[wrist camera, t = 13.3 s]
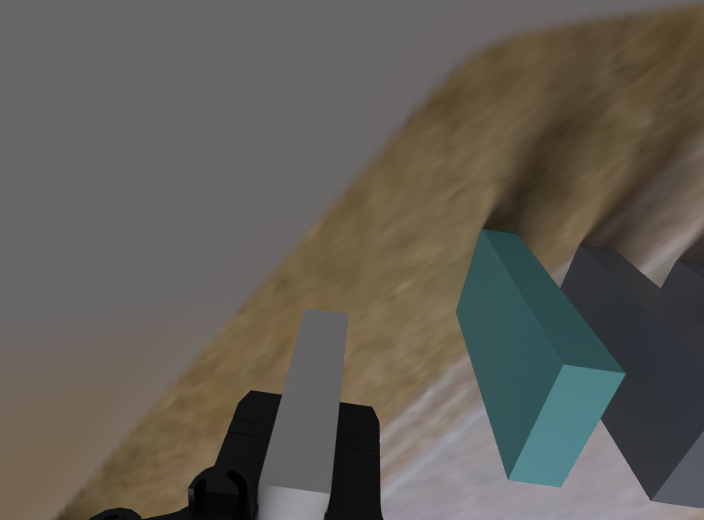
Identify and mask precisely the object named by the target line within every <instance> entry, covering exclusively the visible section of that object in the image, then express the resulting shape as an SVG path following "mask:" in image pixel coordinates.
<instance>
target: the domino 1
mask: <svg viewBox="0 0 704 520" xmlns="http://www.w3.org/2000/svg"><path fill="white" fill-rule="evenodd" d="M456 314H457V317H458V321H459V324H460V327H461V330H462V333H463V337H464V340H465V343H466V346H467V350H468V353H469V356H470V359H471V362H472V366H473V369H474V372H475V375H476V379H477V382H478V385H479V388H480V391H481V395H482V398H483V401H484V404H485V407H486V411H487V414H488V417H489V420H490V424H491V427H492V430H493V433H494V436H495V440H496V443H497V446H498V449H499V453H500V456H501V459H502V462H503V465H504V469H505V472H506V475H507V478H508V480H513V481H520V482H527V483H534V484H541V485H548V486H555V487H561V486H562V484H563V482H564V481H565V479H566V477H567V475H568V474H569V472H570V470H571V468H572V467H573V465H574V463H575V461H576V460H577V458H578V456H579V455H580V453H581V451H582V449H583V448H584V446H585V444H586V442H587V441H588V439H589V437H590V435H591V434H592V432H593V430H594V428H595V427H596V425H597V423H598V422H599V420H600V418H601V416H602V415H603V413H604V411H605V409H606V408H607V406H608V404H609V402H610V401H611V399H612V397H613V395H614V394H615V392H616V390H617V388H618V387H619V385H620V383H621V382H622V380H623V378H624V376H625V375H626V373H625V372H624V370H623V369H622V368H621V367H620V365H619V364H618V363H617V361H616V360H615V359H614V358H613V356H612V355H611V354H610V352H609V351H608V350H607V349H606V347H605V346H604V345H603V343H602V342H601V341H600V340H599V338H598V337H597V336H596V334H595V333H594V332H593V331H592V329H591V328H590V327H589V325H588V324H587V323H586V322H585V320H584V319H583V318H582V316H581V315H580V314H579V313H578V311H577V310H576V309H575V307H574V306H573V305H572V304H571V302H570V301H569V300H568V298H567V297H566V296H565V295H564V293H563V292H562V291H561V289H560V288H559V287H558V285H557V284H556V283H555V282H554V280H553V279H552V278H551V276H550V275H549V274H548V273H547V271H546V270H545V269H544V267H543V266H542V265H541V264H540V262H539V261H538V260H537V258H536V257H535V256H534V255H533V253H532V252H531V251H530V249H529V248H528V247H527V246H526V244H525V243H524V242H523V240H522V239H521V238H520V237H519V235H518V234H514V233H507V232H501V231H494V230H488V229H482V230H481V233H480V236H479V239H478V243H477V246H476V249H475V252H474V256H473V259H472V262H471V265H470V268H469V272H468V275H467V278H466V281H465V285H464V288H463V291H462V294H461V298H460V301H459V304H458V307H457V311H456Z"/></svg>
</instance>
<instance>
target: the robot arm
mask: <svg viewBox="0 0 704 520" xmlns="http://www.w3.org/2000/svg"><path fill="white" fill-rule="evenodd" d="M347 322H348V315H347V314H340V313H334V312H327V311H320V310H314V309H307V308H305V312H304V315H303V319H302V323H301V327H300V330H299V334H298V338H297V342H296V345H295V349H294V353H293V357H292V360H291V364H290V368H289V372H288V375H287V379H286V383H285V387H284V390H283V394H282V395H280V394H273V393H267V392H260V391H253V390H251V391H250V392H249V393H248V394H247V395H246V396H245V397H244V398H243V399H242V400H241V401H240V402H239V403H238V405H237V408H236V411H235V413H234V416H233V419H232V422H231V424H230V426H229V429H228V432H227V435H226V437H225V439H224V442H223V444H222V447H221V450H220V452H219V455H218V457H217V460H216V463H215V465H214V466H212V467H210V468H207V469H205V470H204V471H203V472H201V473H200V474H199V475H197V476H196V477H195V478H194V480H193V481H192V483H191V484H190V486H189V487H188V502H189V506H187V507H185V508H183V509H181V510H180V511H177V512H174V513H170V514H166V515H161V516H156V517H151V518H145V519H142V518H141V516H140V515H138V514H137V513H136V512H134V511H133V510H131V509H125V508H115V509H109V510H105V511H103V512H101V513H99V514H97V515H95V516H93V517H91V518H90V519H89V520H383V517H382V513H381V499H380V442H379V440H380V424H379V420H378V418H377V416H376V414H375V412H374V410H373V407H370V406H363V405H356V404H349V403H343V402H340V393H341V383H342V372H343V362H344V352H345V342H346V332H347Z"/></svg>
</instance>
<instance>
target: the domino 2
mask: <svg viewBox="0 0 704 520" xmlns="http://www.w3.org/2000/svg"><path fill="white" fill-rule="evenodd" d="M560 289H561V291H562V292H563V293H564V295H565V296H566V297H567V298H568V300H569V301H570V302H571V304H572V305H573V306H574V307H575V309H576V310H577V311H578V313H579V314H580V315H581V316H582V318H583V319H584V320H585V322H586V323H587V324H588V325H589V327H590V328H591V329H592V331H593V332H594V333H595V334H596V336H597V337H598V338H599V340H600V341H601V342H602V343H603V345H604V346H605V347H606V349H607V350H608V351H609V352H610V354H611V355H612V356H613V358H614V359H615V360H616V361H617V363H618V364H619V365H620V367H621V368H622V369H623V370H624V372H625V373H626V375H625V376H624V378H623V380H622V382H621V383H620V385H619V387H618V388H617V390H616V392H615V394H614V395H613V397H612V399H611V401H610V402H609V404H608V406H607V408H606V409H605V411H604V413H603V415H602V416H601V418H600V419H601V420H602V422H603V424H604V425H605V427H606V428H607V430H608V432H609V433H610V435H611V437H612V438H613V440H614V442H615V443H616V445H617V446H618V448H619V450H620V451H621V453H622V455H623V456H624V458H625V459H626V461H627V463H628V464H629V466H630V468H631V469H632V471H633V473H634V474H635V476H636V477H637V479H638V481H639V482H640V484H641V486H642V487H643V489H644V491H645V492H646V494H647V495H648V497H649V499H650V500H651V501H654V502H661V503H668V504H675V505H682V506H689V507H696V508H703V507H704V324H703V323H701V322H700V321H699V320H698V319H697V318H695V317H694V316H693V315H692V314H691V313H689V312H688V311H687V310H686V309H685V308H683V307H682V306H681V305H680V304H679V303H677V302H676V301H675V300H674V299H673V298H671V297H670V296H669V295H668V294H667V293H665V292H664V291H663V290H662V289H661V288H659V287H658V286H657V285H656V284H655V283H653V282H652V281H651V280H650V279H649V278H647V277H646V276H645V275H644V274H643V273H641V272H640V271H639V270H638V269H637V268H635V267H634V266H633V265H632V264H631V263H629V262H628V261H627V260H626V259H625V258H623V257H622V256H621V255H620V254H619V253H617V252H616V251H615V250H610V249H604V248H597V247H591V246H585V245H579V247H578V249H577V252H576V254H575V256H574V259H573V261H572V263H571V265H570V268H569V270H568V272H567V275H566V277H565V279H564V281H563V284H562V286H561V288H560Z"/></svg>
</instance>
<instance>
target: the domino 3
mask: <svg viewBox="0 0 704 520" xmlns="http://www.w3.org/2000/svg"><path fill="white" fill-rule="evenodd" d="M661 289H662V290H663V291H664V292H665V293H667V294H668V295H669V296H670V297H671V298H673V299H674V300H675V301H676V302H677V303H679V304H680V305H681V306H682V307H683V308H685V309H686V310H687V311H688V312H689V313H691V314H692V315H693V316H694V317H695V318H697V319H698V320H699V321H700V322H701V323H703V324H704V264H698V263H692V262H686V261H679V260H677V261H676V263H675V265H674V267H673V268H672V270H671V272H670V274H669V276H668V277H667V279H666V281H665V283H664V284H663V286H662V288H661Z"/></svg>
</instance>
